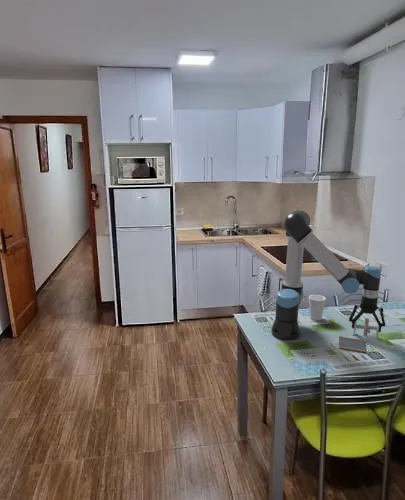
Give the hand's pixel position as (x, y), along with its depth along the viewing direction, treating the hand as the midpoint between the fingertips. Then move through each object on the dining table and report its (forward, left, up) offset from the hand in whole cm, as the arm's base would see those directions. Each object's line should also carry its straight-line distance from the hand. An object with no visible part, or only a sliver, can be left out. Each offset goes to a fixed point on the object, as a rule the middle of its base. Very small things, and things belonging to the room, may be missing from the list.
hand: (365, 335), depth 187 cm
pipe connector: (0, 0, 0) cm, 0 cm away
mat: (-7, -13, 0) cm, 15 cm away
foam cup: (-26, +14, 0) cm, 30 cm away
